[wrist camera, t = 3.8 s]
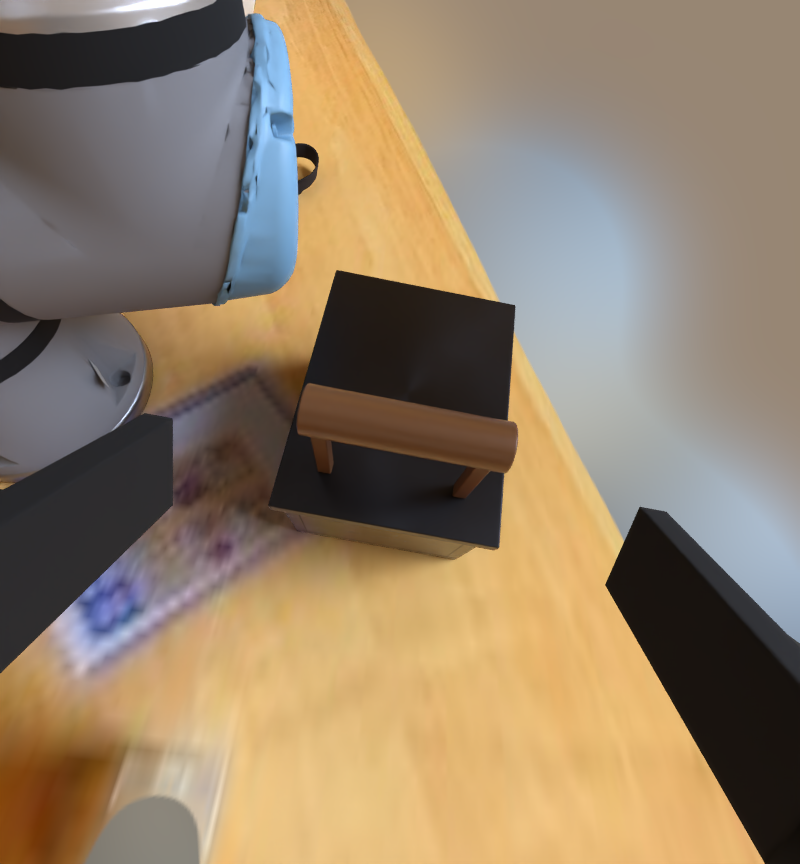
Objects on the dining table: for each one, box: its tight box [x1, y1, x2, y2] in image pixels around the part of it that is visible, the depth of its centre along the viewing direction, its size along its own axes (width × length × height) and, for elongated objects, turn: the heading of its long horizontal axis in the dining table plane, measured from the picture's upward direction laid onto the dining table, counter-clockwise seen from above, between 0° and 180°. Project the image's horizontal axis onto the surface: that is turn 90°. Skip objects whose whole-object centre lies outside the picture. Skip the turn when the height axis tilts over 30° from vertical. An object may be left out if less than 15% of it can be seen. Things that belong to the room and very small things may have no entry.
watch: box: [295, 143, 319, 195], centre depth 44 cm, size 8×5×4 cm, turn 131°
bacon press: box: [268, 270, 518, 550], centre depth 22 cm, size 15×12×8 cm
